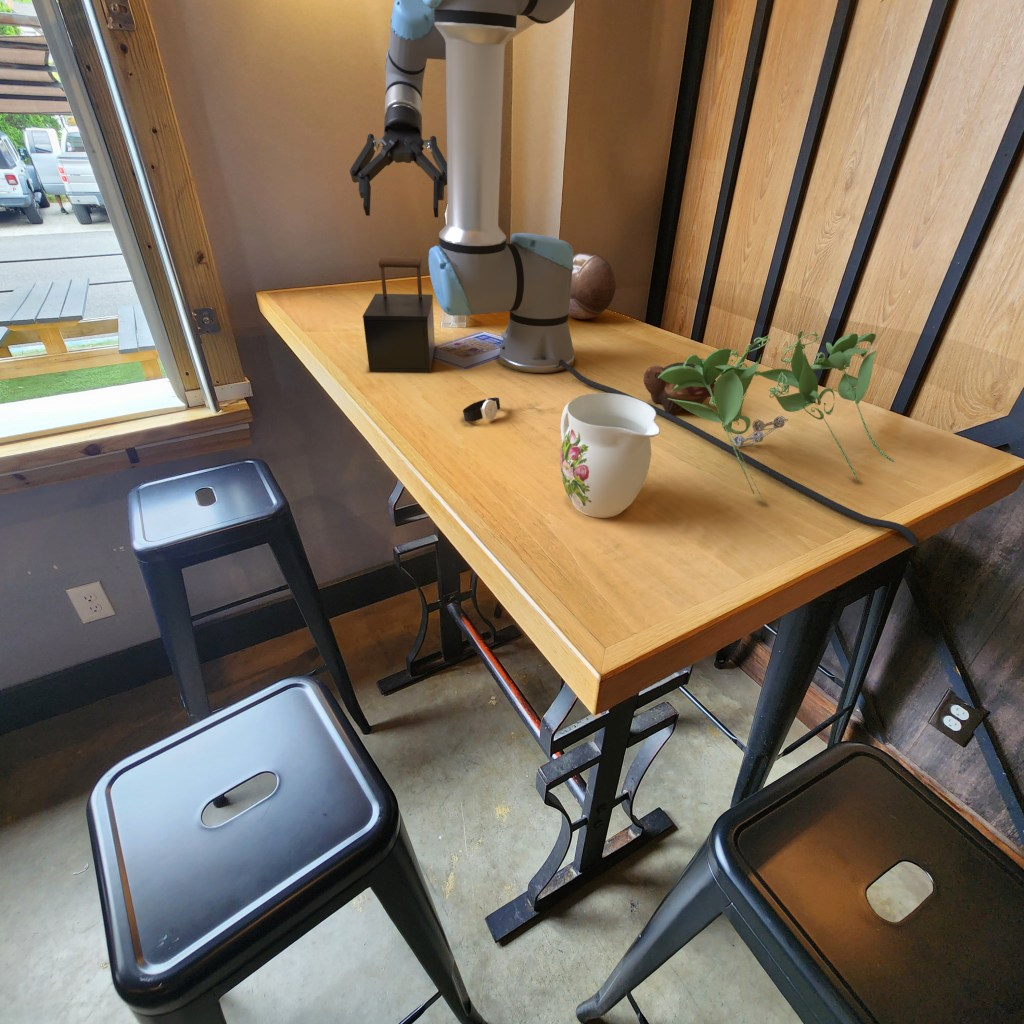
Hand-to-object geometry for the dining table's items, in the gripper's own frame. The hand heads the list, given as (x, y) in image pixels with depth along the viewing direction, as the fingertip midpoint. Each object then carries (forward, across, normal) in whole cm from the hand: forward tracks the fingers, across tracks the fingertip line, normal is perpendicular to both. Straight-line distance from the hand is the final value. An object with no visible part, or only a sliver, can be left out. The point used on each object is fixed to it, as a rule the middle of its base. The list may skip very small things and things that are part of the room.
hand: (401, 212), depth 112 cm
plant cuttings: (+57, -58, +22) cm, 84 cm away
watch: (+46, -16, +11) cm, 50 cm away
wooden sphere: (+6, -41, -29) cm, 51 cm away
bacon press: (+20, 0, -1) cm, 20 cm away
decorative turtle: (+43, -50, +8) cm, 67 cm away
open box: (+27, 0, -8) cm, 28 cm away
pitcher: (+64, -30, +29) cm, 76 cm away
